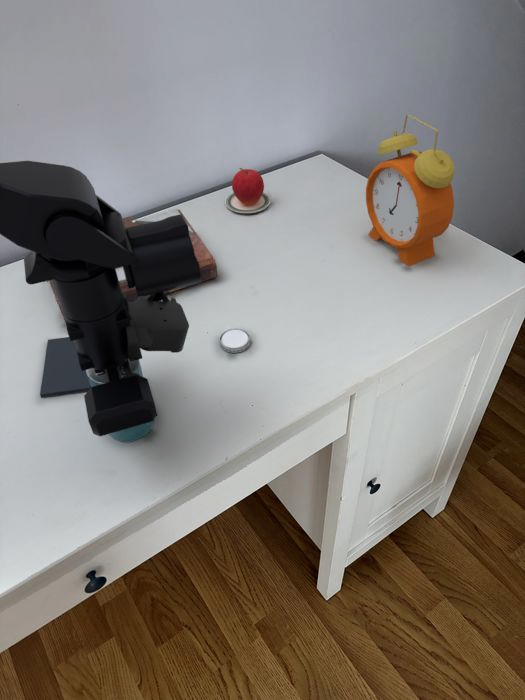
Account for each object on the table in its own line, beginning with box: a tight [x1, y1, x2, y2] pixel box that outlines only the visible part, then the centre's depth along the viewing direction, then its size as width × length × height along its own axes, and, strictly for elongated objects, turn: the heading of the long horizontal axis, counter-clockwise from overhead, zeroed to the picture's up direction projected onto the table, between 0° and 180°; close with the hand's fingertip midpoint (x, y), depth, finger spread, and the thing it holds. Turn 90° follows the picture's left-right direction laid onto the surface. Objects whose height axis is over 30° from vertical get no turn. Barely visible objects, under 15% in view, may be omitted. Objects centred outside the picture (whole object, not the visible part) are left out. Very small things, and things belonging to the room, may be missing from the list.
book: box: [48, 208, 218, 324], centre depth 85 cm, size 23×16×5 cm
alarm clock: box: [365, 114, 456, 267], centre depth 84 cm, size 13×6×20 cm, turn 30°
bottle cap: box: [219, 328, 251, 353], centre depth 76 cm, size 4×4×1 cm
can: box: [86, 359, 155, 443], centre depth 63 cm, size 6×6×10 cm
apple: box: [224, 167, 271, 214], centre depth 99 cm, size 8×8×6 cm
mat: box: [39, 336, 91, 399], centre depth 74 cm, size 10×10×1 cm
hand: (125, 406), depth 65 cm, fingers closed on can, 5 cm apart
